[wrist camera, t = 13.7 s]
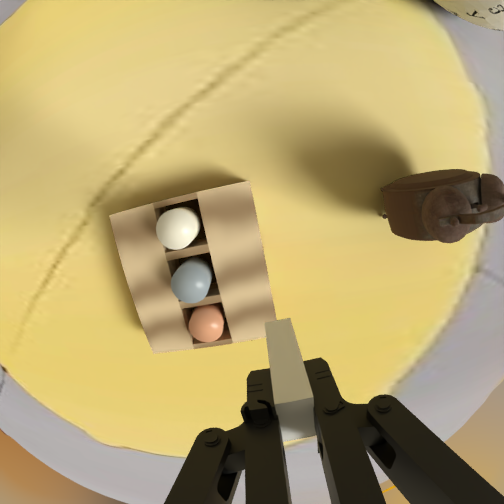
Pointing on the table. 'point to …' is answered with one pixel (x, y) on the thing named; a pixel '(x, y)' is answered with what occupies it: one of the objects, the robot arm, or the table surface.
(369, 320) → the table surface
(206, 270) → the blue egg
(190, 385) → the table surface
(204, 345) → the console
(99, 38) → the table surface
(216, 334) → the peach egg
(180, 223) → the cream rounded piece
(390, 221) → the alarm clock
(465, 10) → the puzzle globe
